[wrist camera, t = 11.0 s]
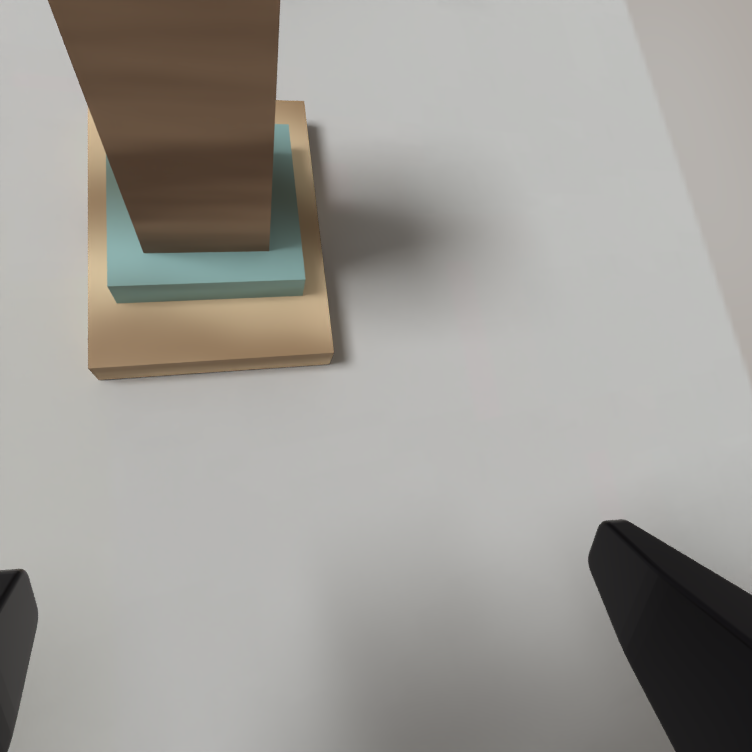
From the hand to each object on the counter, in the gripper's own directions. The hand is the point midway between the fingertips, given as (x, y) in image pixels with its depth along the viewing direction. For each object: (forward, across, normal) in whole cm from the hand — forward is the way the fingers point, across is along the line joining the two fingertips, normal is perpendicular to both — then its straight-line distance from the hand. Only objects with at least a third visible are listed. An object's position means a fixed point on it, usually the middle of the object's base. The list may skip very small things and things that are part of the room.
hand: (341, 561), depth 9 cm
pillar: (+17, +3, -2) cm, 17 cm away
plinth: (+19, +3, 0) cm, 19 cm away
